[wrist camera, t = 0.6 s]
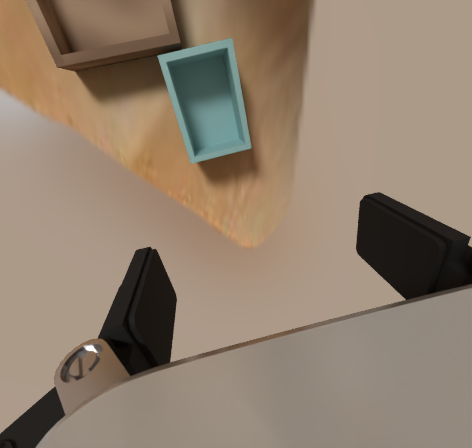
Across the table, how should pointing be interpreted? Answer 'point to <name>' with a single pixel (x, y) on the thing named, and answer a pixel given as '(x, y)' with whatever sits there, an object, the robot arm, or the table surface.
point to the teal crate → (207, 99)
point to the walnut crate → (105, 30)
